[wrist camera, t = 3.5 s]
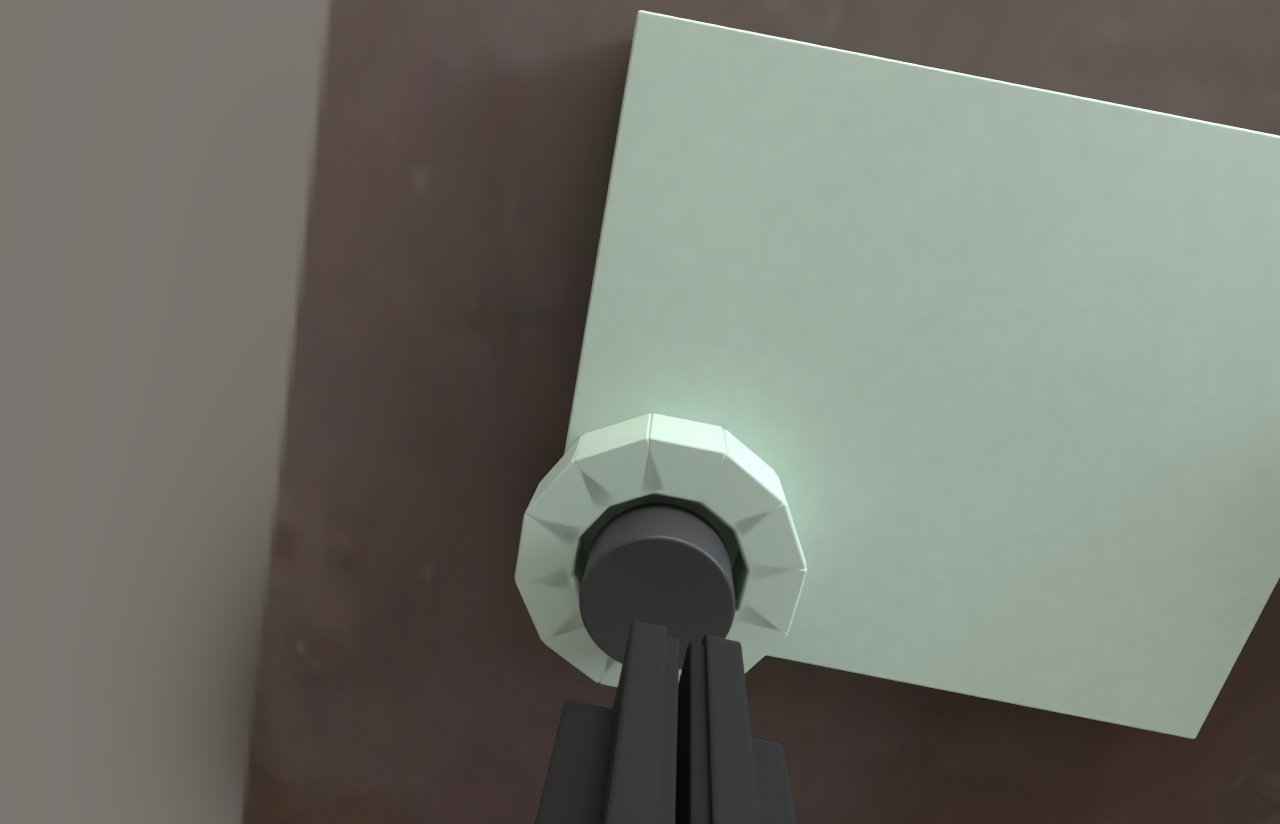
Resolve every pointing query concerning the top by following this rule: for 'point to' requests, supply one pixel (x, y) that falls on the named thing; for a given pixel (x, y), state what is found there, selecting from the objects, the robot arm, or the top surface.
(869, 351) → the scale
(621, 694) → the robot arm
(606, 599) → the button
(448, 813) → the top surface
